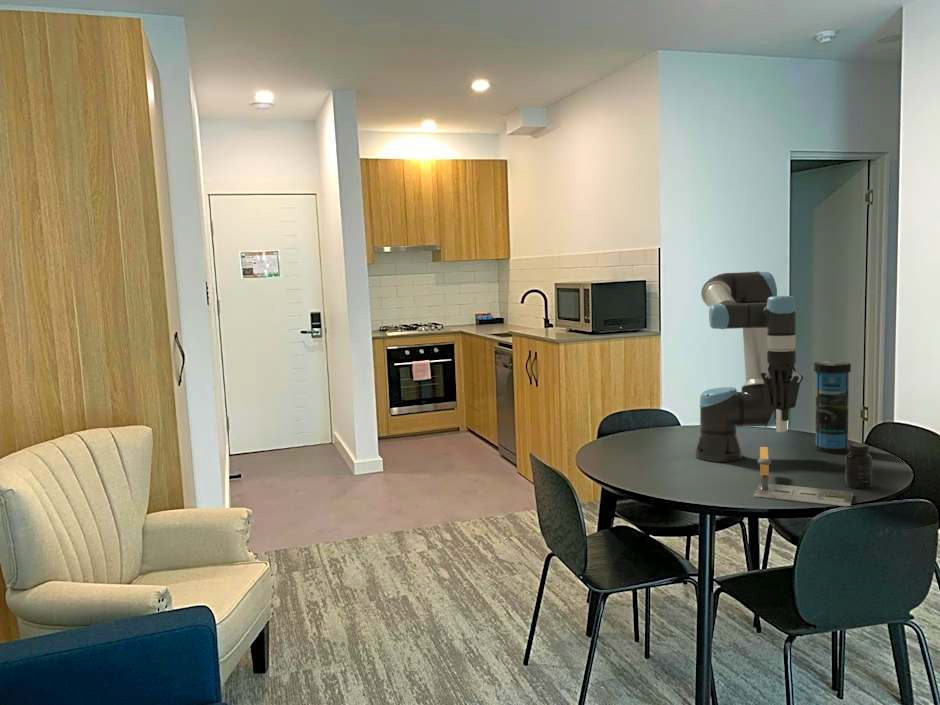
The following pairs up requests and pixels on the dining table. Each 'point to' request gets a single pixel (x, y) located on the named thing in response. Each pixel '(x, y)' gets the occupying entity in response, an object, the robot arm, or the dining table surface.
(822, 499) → the tray
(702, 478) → the dining table surface
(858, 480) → the supplement bottle
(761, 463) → the swing arm
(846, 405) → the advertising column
